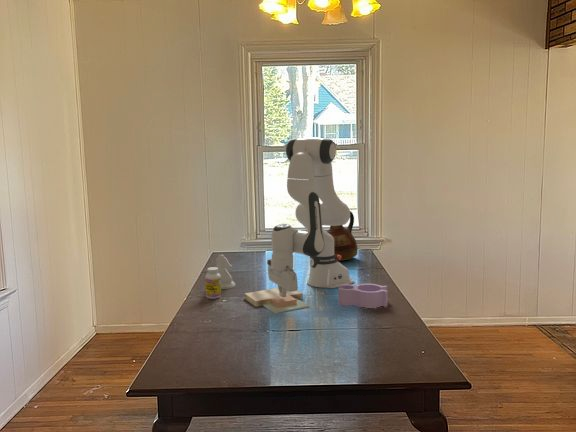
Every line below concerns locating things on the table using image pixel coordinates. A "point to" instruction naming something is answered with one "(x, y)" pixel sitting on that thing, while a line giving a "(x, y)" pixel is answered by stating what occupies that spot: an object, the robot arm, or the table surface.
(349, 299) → the clip
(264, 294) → the beige flat block
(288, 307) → the mat
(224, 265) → the chess piece
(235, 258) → the table surface
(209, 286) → the supplement bottle
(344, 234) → the ceramic pitcher
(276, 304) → the tile
